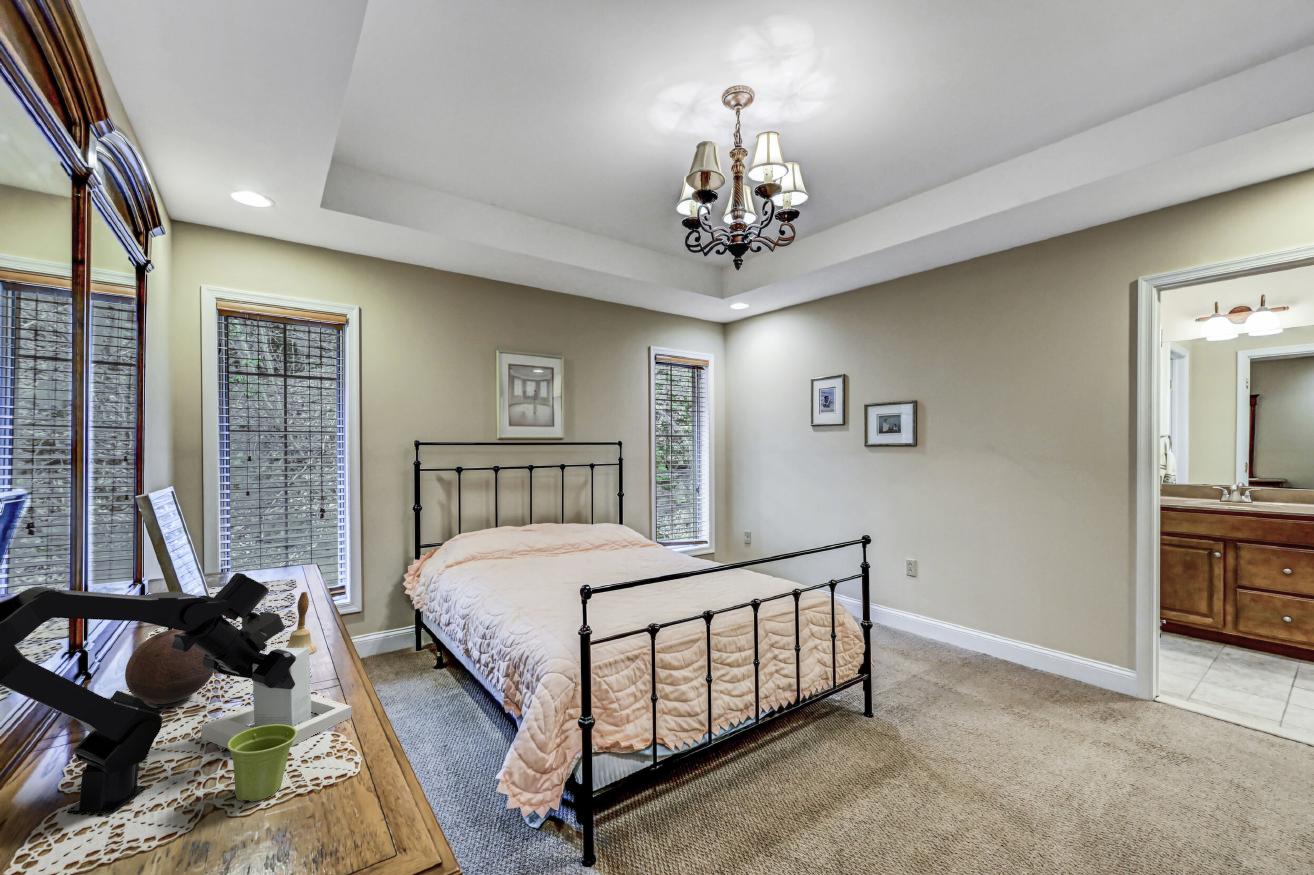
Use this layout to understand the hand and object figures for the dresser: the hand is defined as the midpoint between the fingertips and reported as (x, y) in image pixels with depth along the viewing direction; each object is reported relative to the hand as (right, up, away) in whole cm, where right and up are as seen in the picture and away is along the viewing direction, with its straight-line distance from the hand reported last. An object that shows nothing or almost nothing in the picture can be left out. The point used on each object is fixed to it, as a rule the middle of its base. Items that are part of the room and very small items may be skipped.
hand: (277, 682), depth 113 cm
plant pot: (+10, -10, -20) cm, 24 cm away
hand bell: (-22, -10, +41) cm, 47 cm away
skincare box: (0, -10, +1) cm, 10 cm away
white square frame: (0, -10, +2) cm, 10 cm away
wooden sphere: (-29, -8, +10) cm, 32 cm away
